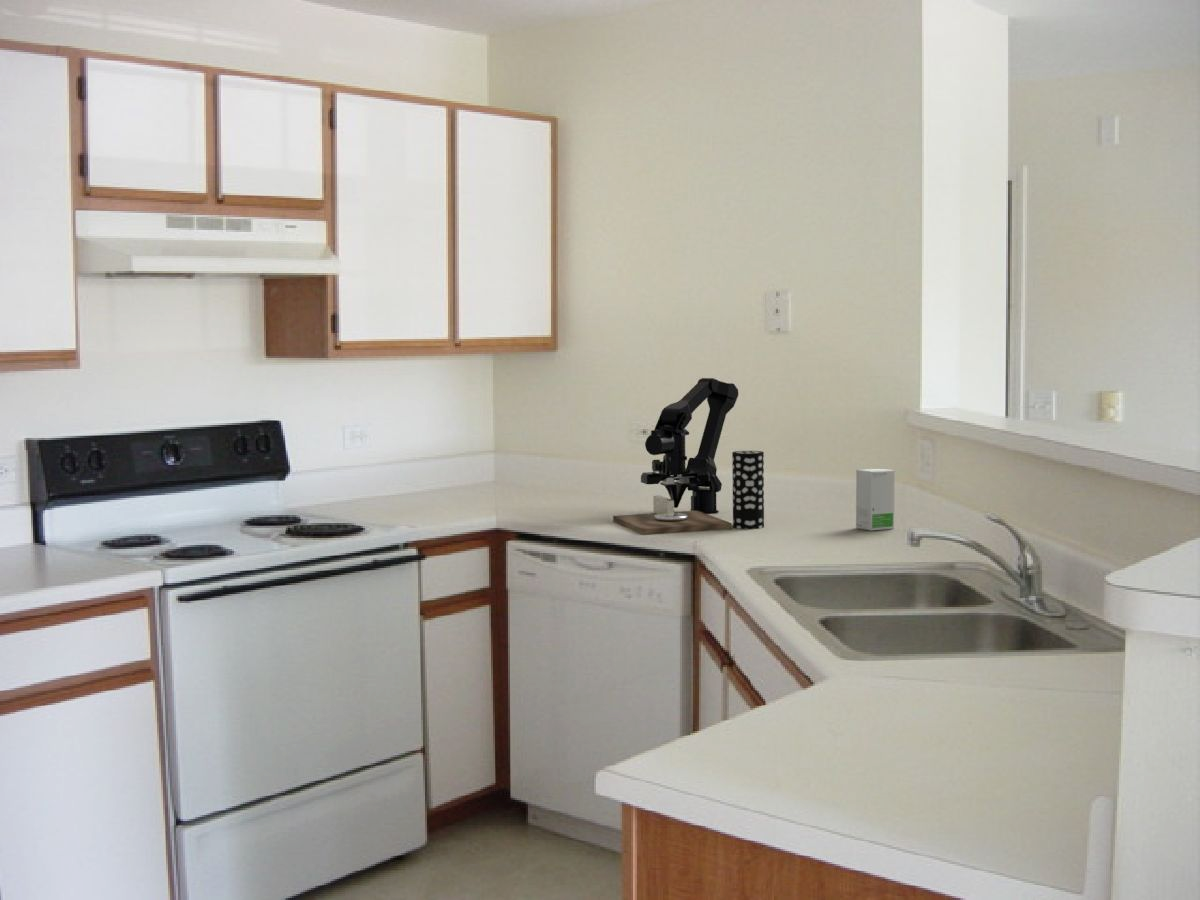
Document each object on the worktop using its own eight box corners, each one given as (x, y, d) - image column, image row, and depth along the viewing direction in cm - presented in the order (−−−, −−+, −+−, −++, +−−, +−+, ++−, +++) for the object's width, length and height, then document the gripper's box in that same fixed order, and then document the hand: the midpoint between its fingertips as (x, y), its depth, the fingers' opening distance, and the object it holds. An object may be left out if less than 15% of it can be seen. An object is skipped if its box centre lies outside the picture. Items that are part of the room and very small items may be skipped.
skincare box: (870, 531, 340) (870, 471, 338) (854, 528, 346) (854, 469, 344) (895, 528, 344) (895, 469, 342) (879, 525, 350) (879, 467, 348)
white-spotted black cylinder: (746, 523, 357) (745, 450, 355) (770, 526, 351) (770, 451, 349) (726, 526, 351) (725, 452, 349) (750, 530, 346) (750, 454, 344)
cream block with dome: (692, 519, 353) (692, 501, 353) (661, 521, 351) (660, 503, 350) (671, 511, 369) (671, 494, 368) (641, 513, 366) (641, 496, 365)
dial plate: (697, 515, 372) (696, 510, 372) (731, 528, 348) (731, 522, 348) (613, 521, 365) (613, 515, 365) (642, 534, 341) (642, 528, 341)
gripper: (695, 448, 376) (695, 502, 378) (634, 451, 370) (634, 505, 372) (710, 451, 366) (710, 507, 367) (647, 454, 360) (647, 511, 361)
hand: (675, 507), depth 367 cm, fingers closed
